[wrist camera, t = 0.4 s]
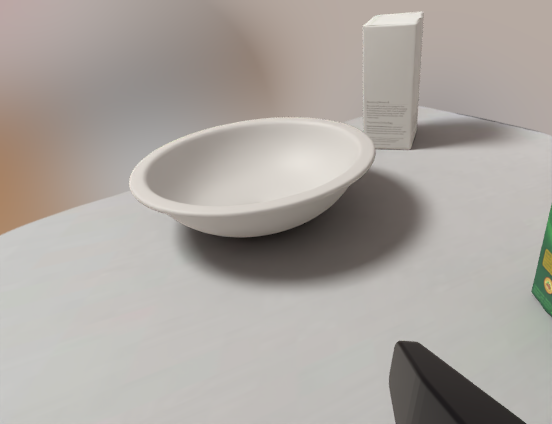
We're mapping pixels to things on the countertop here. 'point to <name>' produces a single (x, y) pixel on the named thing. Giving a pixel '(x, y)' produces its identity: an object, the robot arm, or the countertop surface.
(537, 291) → the coffee box
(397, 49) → the skincare box
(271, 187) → the soup bowl
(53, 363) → the countertop surface
